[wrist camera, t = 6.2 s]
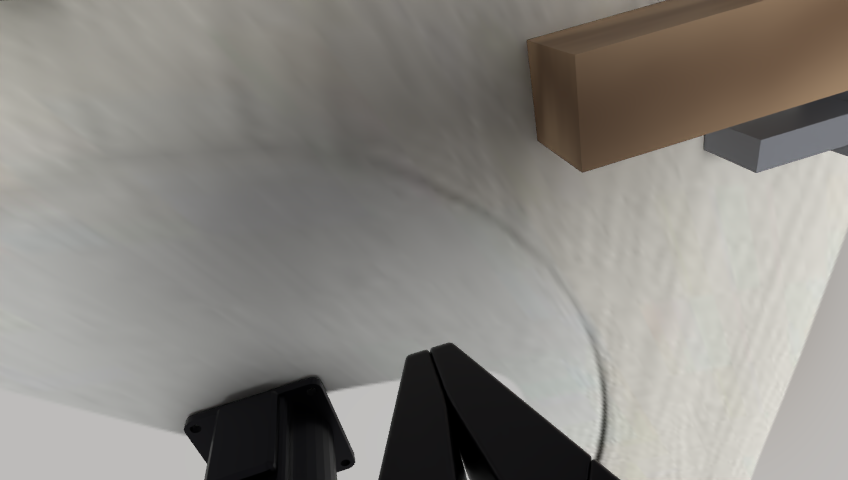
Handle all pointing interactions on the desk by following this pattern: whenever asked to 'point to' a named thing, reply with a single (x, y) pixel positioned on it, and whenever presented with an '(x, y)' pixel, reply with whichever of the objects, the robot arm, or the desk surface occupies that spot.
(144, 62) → the desk surface
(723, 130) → the end cap
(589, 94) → the brown wooden block
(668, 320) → the desk surface
